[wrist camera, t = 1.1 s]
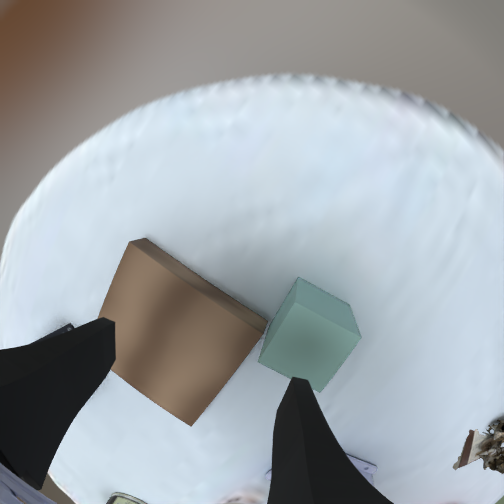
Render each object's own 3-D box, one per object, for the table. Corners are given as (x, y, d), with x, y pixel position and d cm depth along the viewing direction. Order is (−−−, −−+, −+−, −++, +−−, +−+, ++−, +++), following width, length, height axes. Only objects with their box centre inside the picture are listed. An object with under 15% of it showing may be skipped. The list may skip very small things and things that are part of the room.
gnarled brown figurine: (523, 370, 19) (554, 428, 15) (499, 364, 25) (531, 417, 21) (439, 454, 20) (477, 503, 16) (428, 434, 26) (464, 481, 22)
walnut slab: (267, 321, 23) (263, 333, 21) (199, 411, 26) (191, 426, 24) (145, 237, 24) (129, 241, 22) (101, 339, 27) (86, 349, 24)
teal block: (349, 304, 22) (361, 337, 16) (318, 350, 23) (320, 392, 17) (298, 276, 23) (295, 301, 17) (269, 324, 24) (257, 361, 18)
